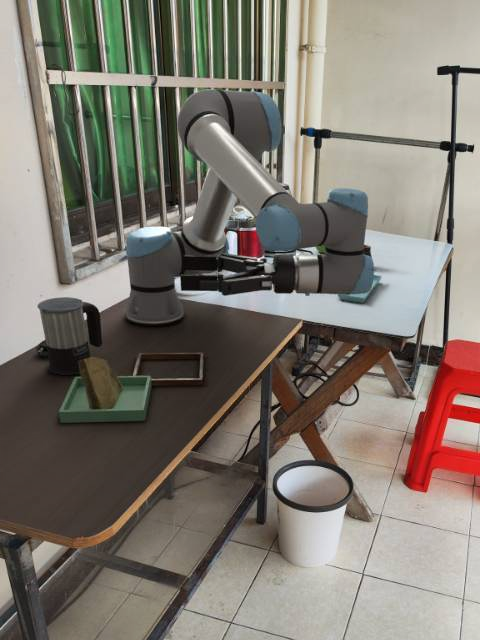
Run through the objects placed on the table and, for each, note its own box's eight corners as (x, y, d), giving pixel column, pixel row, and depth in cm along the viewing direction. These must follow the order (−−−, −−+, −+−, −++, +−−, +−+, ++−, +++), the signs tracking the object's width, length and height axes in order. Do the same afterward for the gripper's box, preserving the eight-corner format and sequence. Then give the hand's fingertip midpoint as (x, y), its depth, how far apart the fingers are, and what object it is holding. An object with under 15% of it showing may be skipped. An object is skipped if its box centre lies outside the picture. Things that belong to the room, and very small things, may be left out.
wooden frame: (139, 358, 138) (138, 352, 138) (203, 357, 141) (203, 352, 140) (131, 386, 126) (131, 380, 125) (202, 385, 128) (202, 379, 127)
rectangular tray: (364, 304, 184) (365, 296, 182) (336, 300, 186) (337, 292, 184) (381, 283, 206) (382, 275, 204) (356, 279, 208) (356, 272, 206)
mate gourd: (354, 270, 218) (357, 242, 213) (349, 264, 225) (351, 237, 220) (373, 270, 220) (376, 242, 215) (367, 264, 226) (369, 238, 221)
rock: (107, 372, 124) (65, 381, 117) (124, 347, 119) (80, 355, 111) (134, 413, 123) (92, 425, 115) (152, 390, 118) (109, 401, 110)
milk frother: (79, 378, 127) (69, 312, 120) (12, 369, 129) (-2, 304, 122) (110, 354, 140) (103, 293, 132) (49, 346, 142) (38, 285, 134)
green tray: (76, 386, 124) (74, 376, 123) (151, 385, 127) (151, 375, 125) (60, 423, 111) (58, 411, 110) (144, 420, 113) (143, 409, 112)
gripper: (301, 314, 106) (180, 313, 102) (286, 275, 127) (185, 273, 123) (303, 272, 102) (177, 270, 98) (287, 239, 123) (183, 236, 120)
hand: (182, 272), depth 111 cm, fingers open, 13 cm apart
